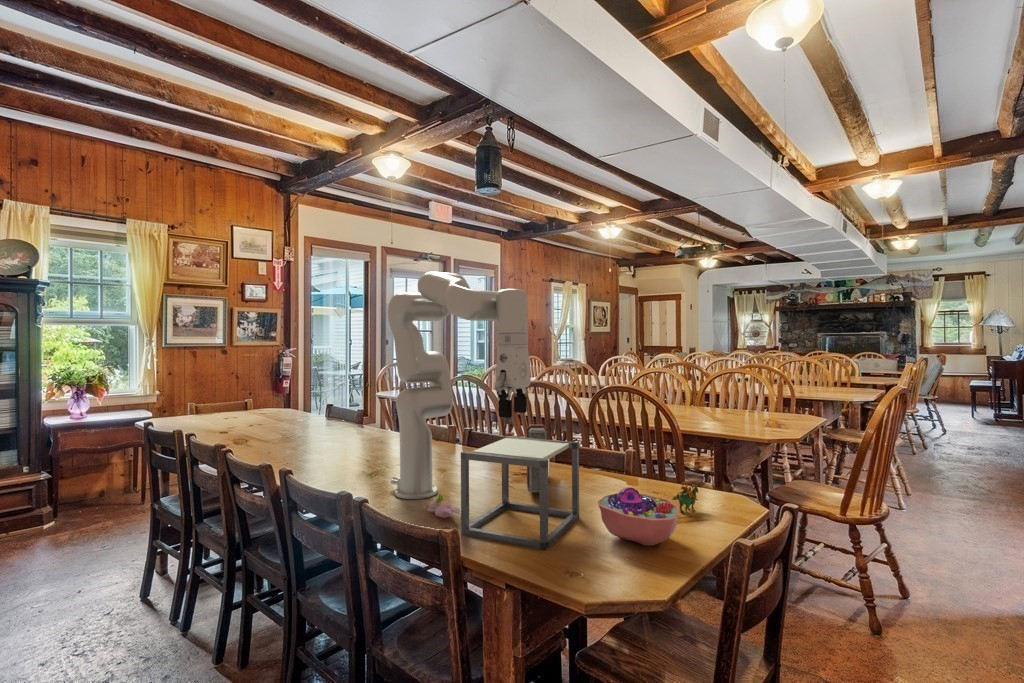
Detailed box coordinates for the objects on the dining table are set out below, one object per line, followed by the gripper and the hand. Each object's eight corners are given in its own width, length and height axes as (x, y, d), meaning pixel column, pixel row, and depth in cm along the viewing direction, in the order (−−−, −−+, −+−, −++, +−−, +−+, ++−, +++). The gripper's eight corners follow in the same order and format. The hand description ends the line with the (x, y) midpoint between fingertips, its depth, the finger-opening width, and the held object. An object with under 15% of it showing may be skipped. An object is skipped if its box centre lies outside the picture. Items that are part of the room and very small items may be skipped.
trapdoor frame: (461, 534, 125) (460, 452, 124) (504, 506, 145) (503, 435, 145) (545, 550, 115) (545, 461, 115) (579, 517, 136) (578, 442, 136)
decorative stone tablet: (549, 428, 152) (545, 421, 182) (526, 428, 152) (526, 421, 182) (549, 496, 151) (545, 478, 181) (527, 496, 151) (526, 477, 181)
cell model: (635, 564, 108) (635, 509, 108) (584, 531, 127) (584, 484, 126) (699, 550, 115) (699, 498, 115) (641, 521, 133) (641, 476, 133)
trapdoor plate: (472, 455, 126) (472, 450, 126) (506, 441, 143) (506, 437, 143) (542, 463, 118) (542, 458, 118) (569, 447, 135) (569, 442, 135)
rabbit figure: (420, 516, 141) (445, 524, 129) (419, 494, 142) (443, 499, 130) (441, 512, 145) (468, 519, 132) (440, 490, 146) (466, 494, 133)
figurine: (703, 509, 142) (703, 479, 142) (676, 519, 134) (676, 487, 134) (693, 506, 144) (693, 476, 144) (666, 515, 137) (666, 484, 137)
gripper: (510, 341, 116) (511, 420, 117) (540, 340, 132) (541, 410, 132) (480, 341, 120) (481, 419, 120) (513, 340, 135) (514, 409, 135)
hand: (513, 414), depth 126 cm, fingers open, 7 cm apart
